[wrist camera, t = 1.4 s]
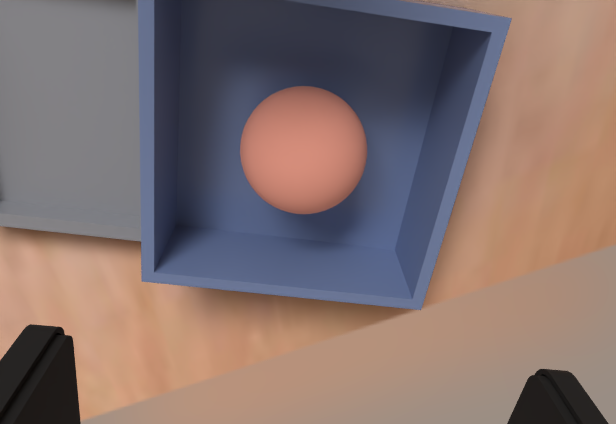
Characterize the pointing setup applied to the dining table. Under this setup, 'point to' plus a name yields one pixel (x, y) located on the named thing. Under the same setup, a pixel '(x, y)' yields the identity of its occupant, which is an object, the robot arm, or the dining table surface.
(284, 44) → the blue storage bin
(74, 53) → the tray
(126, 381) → the dining table surface
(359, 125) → the ball
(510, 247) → the dining table surface
